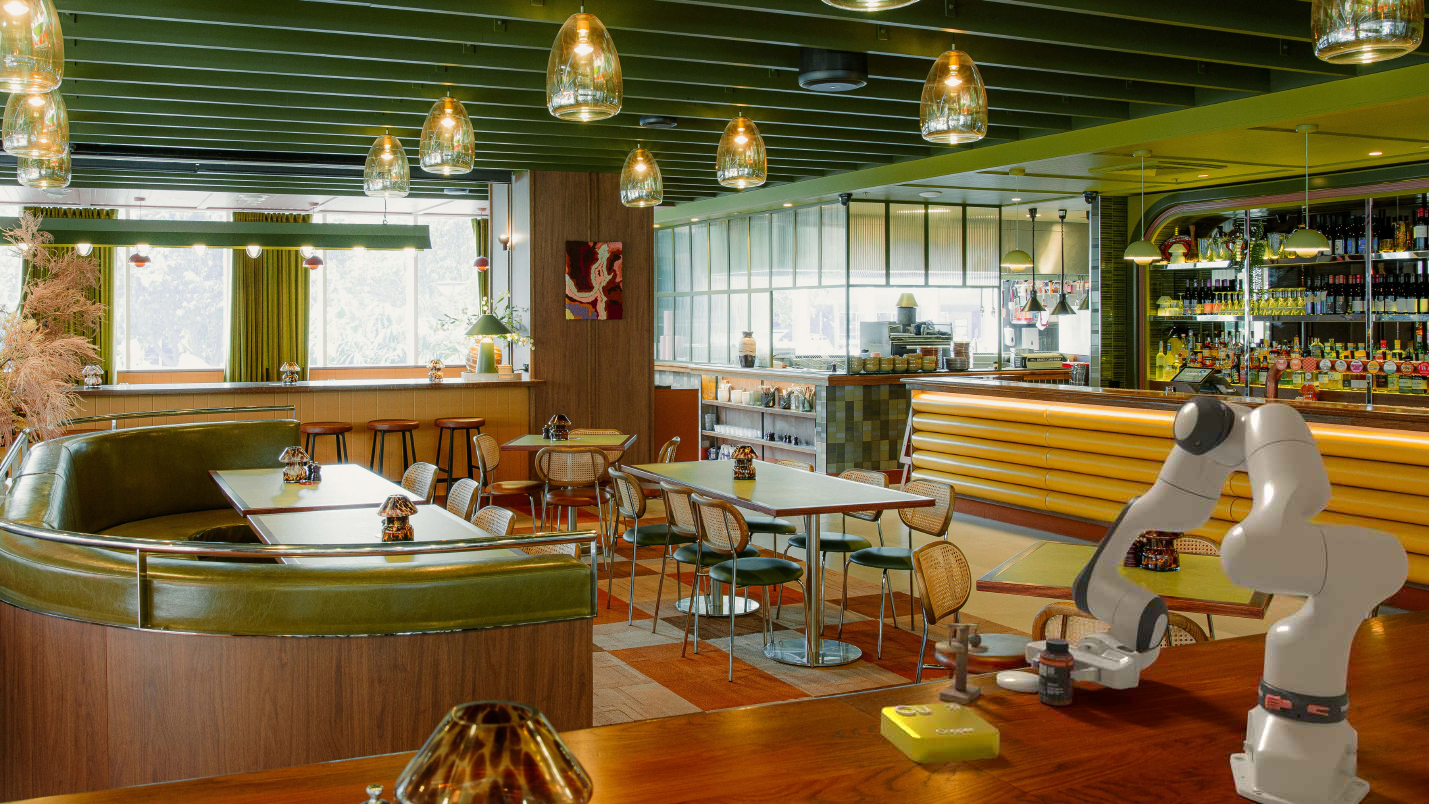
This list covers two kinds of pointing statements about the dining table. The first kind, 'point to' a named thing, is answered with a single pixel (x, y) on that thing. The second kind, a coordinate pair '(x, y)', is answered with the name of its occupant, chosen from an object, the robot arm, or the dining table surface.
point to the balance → (962, 662)
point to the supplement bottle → (1056, 673)
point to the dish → (1018, 681)
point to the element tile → (939, 733)
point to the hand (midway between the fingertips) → (1053, 670)
